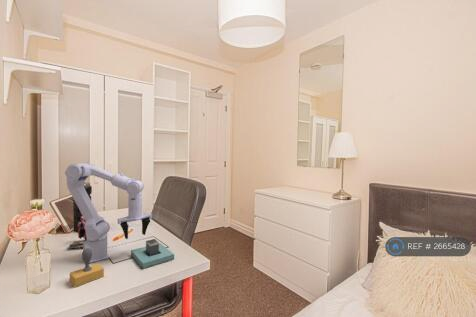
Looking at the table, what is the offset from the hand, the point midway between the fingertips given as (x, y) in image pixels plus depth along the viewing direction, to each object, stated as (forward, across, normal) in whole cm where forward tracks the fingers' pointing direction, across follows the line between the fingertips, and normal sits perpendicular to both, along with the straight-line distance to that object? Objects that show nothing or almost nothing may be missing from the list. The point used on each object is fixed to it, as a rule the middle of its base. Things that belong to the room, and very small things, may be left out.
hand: (135, 236), depth 109 cm
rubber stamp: (+10, -20, -7) cm, 24 cm away
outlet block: (+10, +6, -5) cm, 13 cm away
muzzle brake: (+10, -13, +55) cm, 57 cm away
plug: (+9, +6, -5) cm, 12 cm away
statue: (+10, -17, +30) cm, 36 cm away
